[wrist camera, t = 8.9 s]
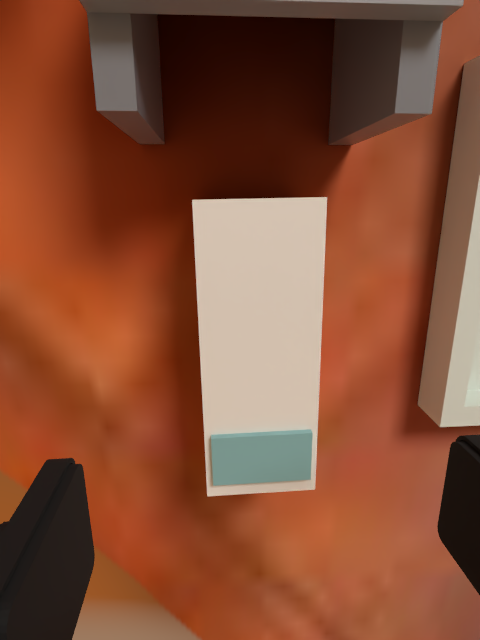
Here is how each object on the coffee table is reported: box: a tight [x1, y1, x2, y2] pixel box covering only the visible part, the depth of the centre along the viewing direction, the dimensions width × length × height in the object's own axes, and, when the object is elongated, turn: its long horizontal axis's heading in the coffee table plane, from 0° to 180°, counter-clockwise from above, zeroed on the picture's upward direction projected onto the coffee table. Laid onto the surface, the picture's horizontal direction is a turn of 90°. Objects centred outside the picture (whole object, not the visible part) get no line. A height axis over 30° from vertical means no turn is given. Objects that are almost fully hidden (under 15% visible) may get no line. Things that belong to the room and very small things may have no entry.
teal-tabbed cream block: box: [192, 197, 327, 496], centre depth 19 cm, size 5×13×6 cm, turn 1°
